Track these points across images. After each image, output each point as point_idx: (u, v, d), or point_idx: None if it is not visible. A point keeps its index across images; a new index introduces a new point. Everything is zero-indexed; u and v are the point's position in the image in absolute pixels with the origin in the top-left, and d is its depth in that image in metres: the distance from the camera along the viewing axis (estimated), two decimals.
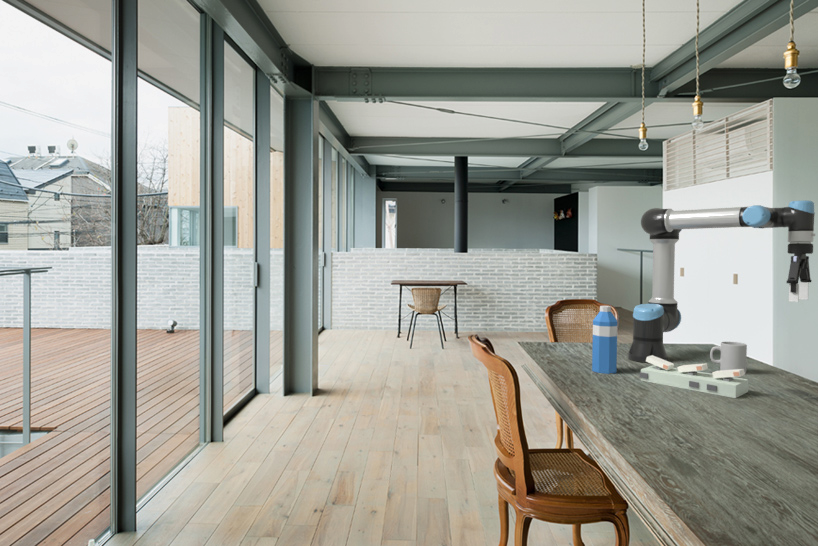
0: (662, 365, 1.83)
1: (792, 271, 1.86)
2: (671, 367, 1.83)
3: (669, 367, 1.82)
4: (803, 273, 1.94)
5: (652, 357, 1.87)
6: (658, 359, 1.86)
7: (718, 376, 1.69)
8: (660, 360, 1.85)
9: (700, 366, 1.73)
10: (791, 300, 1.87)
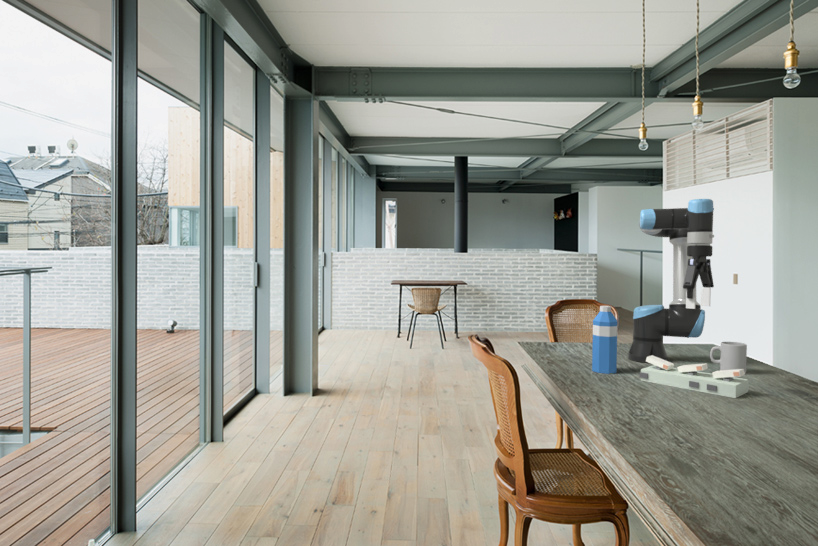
0: (662, 365, 1.83)
1: (688, 275, 1.71)
2: (671, 367, 1.83)
3: (669, 367, 1.82)
4: (704, 277, 1.79)
5: (652, 357, 1.87)
6: (658, 359, 1.86)
7: (718, 376, 1.69)
8: (660, 360, 1.85)
9: (700, 366, 1.73)
10: (688, 307, 1.72)
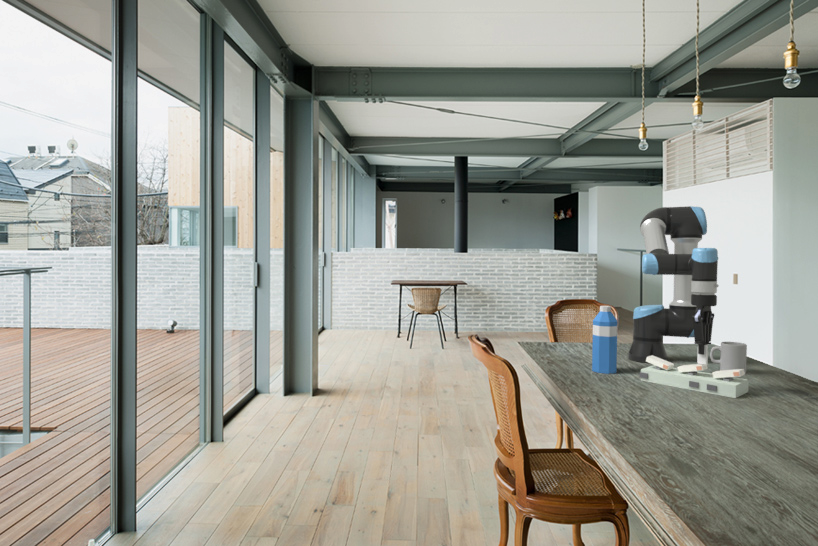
0: (662, 365, 1.83)
1: (697, 333, 1.72)
2: (671, 367, 1.83)
3: (669, 367, 1.82)
4: None
5: (652, 357, 1.87)
6: (658, 359, 1.86)
7: (718, 376, 1.69)
8: (660, 360, 1.85)
9: (700, 366, 1.73)
10: (699, 362, 1.75)
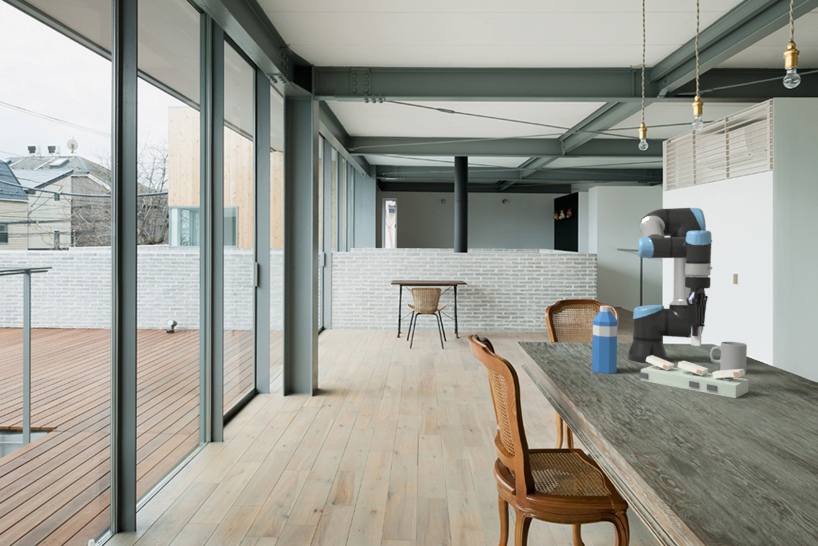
0: (662, 365, 1.83)
1: (691, 315, 1.73)
2: (671, 367, 1.83)
3: (669, 367, 1.82)
4: None
5: (652, 357, 1.87)
6: (658, 359, 1.86)
7: (718, 376, 1.69)
8: (660, 360, 1.85)
9: (701, 371, 1.73)
10: (693, 344, 1.76)
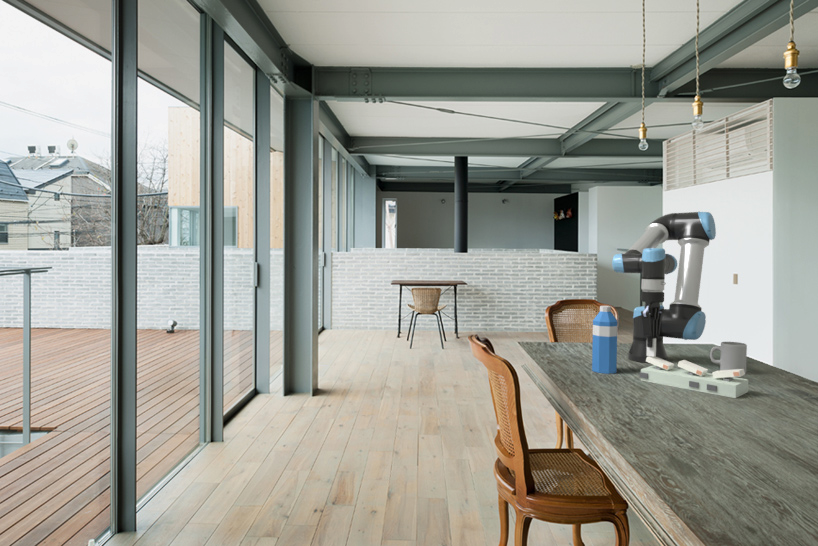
0: (662, 365, 1.83)
1: (645, 327, 1.85)
2: (671, 367, 1.83)
3: (669, 367, 1.82)
4: None
5: (652, 357, 1.87)
6: (658, 359, 1.86)
7: (718, 376, 1.69)
8: (660, 360, 1.85)
9: (701, 371, 1.73)
10: (648, 354, 1.88)
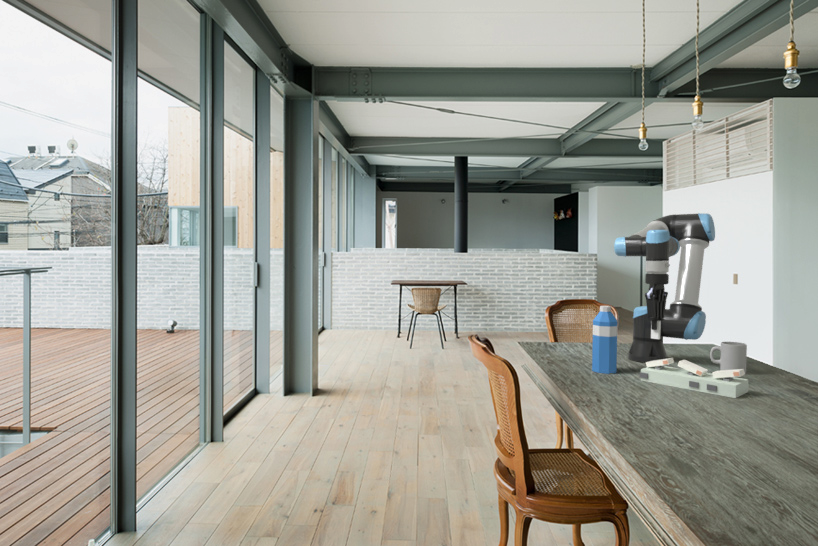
0: (662, 362, 1.83)
1: (649, 309, 1.83)
2: (671, 361, 1.83)
3: (669, 361, 1.82)
4: None
5: (651, 361, 1.88)
6: (657, 360, 1.86)
7: (718, 376, 1.69)
8: (659, 360, 1.85)
9: (701, 372, 1.73)
10: (653, 337, 1.86)
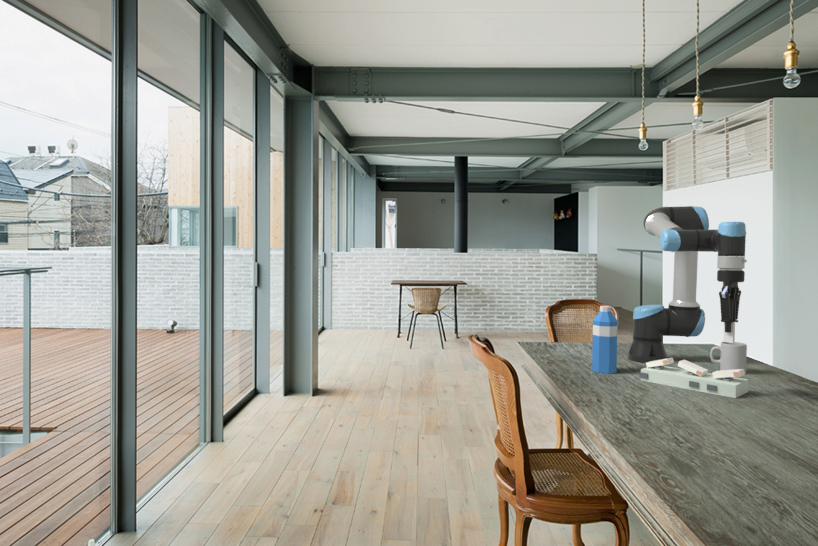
0: (662, 362, 1.83)
1: (724, 310, 1.65)
2: (671, 361, 1.83)
3: (669, 361, 1.82)
4: None
5: (651, 361, 1.88)
6: (657, 360, 1.86)
7: (718, 376, 1.69)
8: (659, 360, 1.85)
9: (701, 372, 1.73)
10: (726, 340, 1.68)
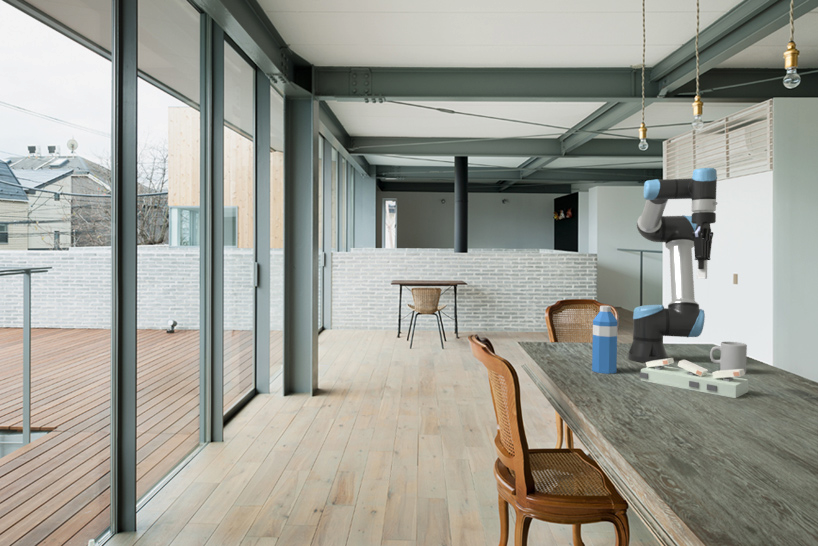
0: (662, 362, 1.83)
1: (697, 248, 1.82)
2: (671, 361, 1.83)
3: (669, 361, 1.82)
4: None
5: (651, 361, 1.88)
6: (657, 360, 1.86)
7: (718, 376, 1.69)
8: (659, 360, 1.85)
9: (701, 372, 1.73)
10: (699, 277, 1.85)
